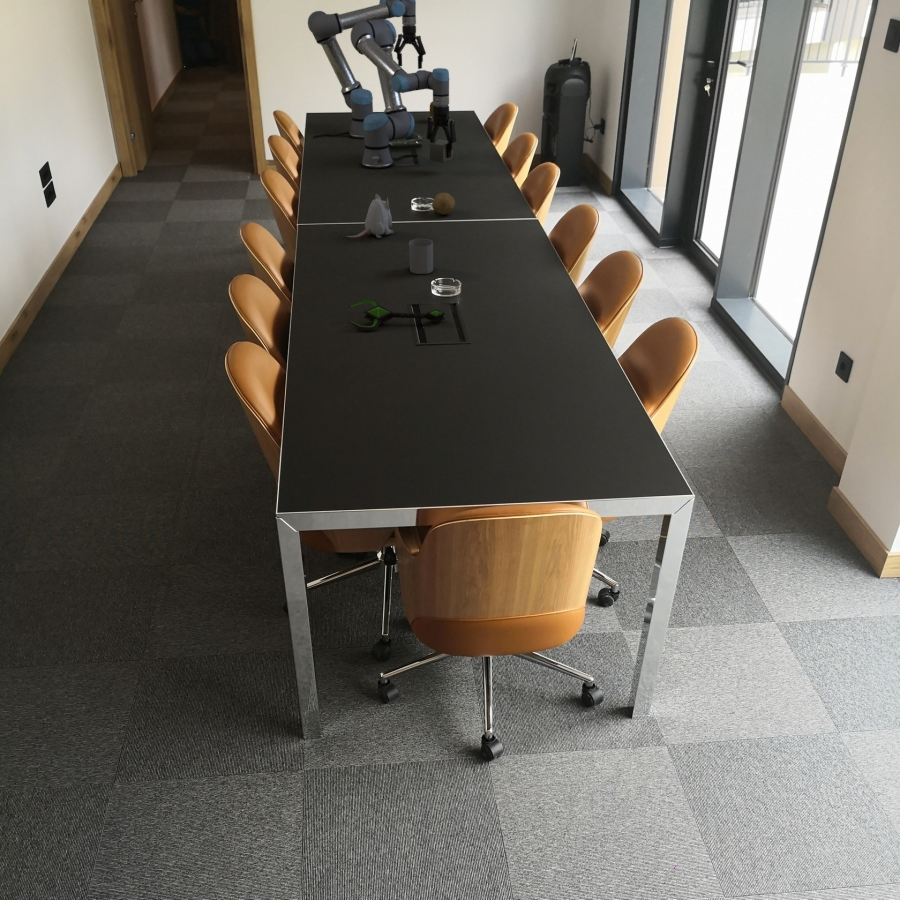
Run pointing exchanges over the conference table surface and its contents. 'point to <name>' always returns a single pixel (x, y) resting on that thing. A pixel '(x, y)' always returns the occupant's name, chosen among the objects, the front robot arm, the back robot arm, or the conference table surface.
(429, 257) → the cup
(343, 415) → the conference table surface
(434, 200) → the potato
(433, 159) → the gray cube
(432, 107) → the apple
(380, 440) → the conference table surface
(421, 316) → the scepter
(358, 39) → the front robot arm
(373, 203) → the toy
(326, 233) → the conference table surface
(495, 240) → the conference table surface
